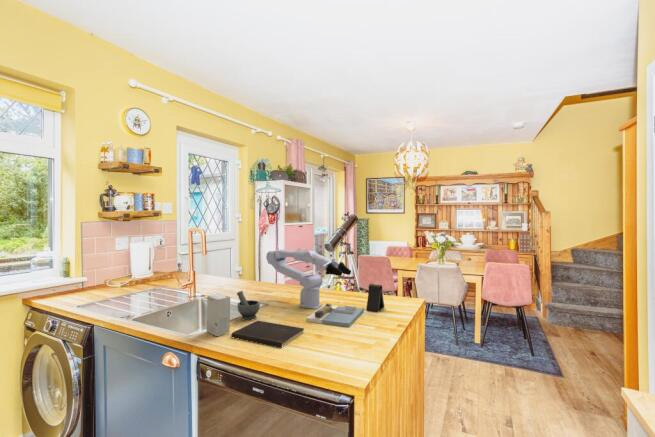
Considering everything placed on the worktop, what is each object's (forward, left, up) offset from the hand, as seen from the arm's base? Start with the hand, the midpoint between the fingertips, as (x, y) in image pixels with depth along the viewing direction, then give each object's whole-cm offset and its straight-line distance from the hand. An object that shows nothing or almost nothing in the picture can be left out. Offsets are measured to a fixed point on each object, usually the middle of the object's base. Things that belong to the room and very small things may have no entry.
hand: (345, 273), depth 149 cm
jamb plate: (-9, -5, -19) cm, 22 cm away
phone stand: (+11, +12, -19) cm, 25 cm away
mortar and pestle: (-40, -22, -19) cm, 49 cm away
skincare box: (-40, -41, -19) cm, 60 cm away
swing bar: (-8, -8, -17) cm, 20 cm away
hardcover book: (-20, -36, -20) cm, 45 cm away
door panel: (+1, -5, -19) cm, 20 cm away
